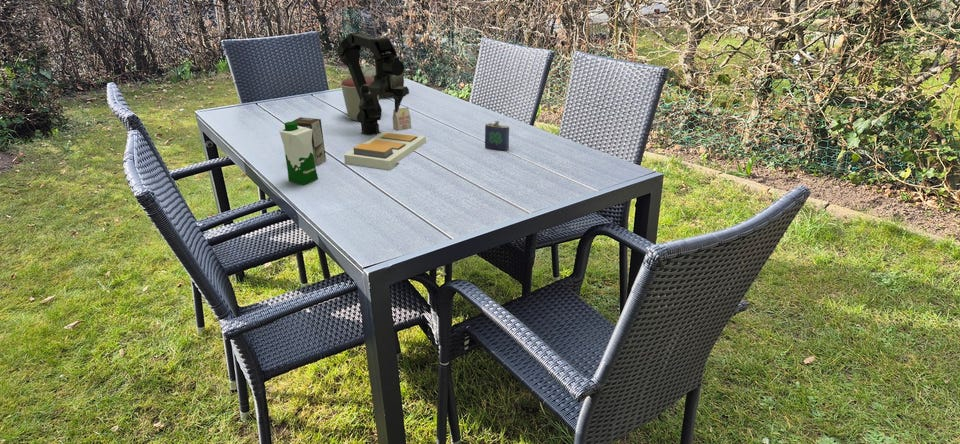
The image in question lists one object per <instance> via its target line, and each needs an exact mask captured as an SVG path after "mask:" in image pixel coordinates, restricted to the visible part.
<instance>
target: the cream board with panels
mask: <svg viewBox="0 0 960 444" xmlns="http://www.w3.org/2000/svg"><path fill="white" fill-rule="evenodd" d="M387 133H394V134H402V135H410V136H417V138H416V139H415V140H413V141H412V142H406V141H398V140H390V139H383V138H381V137H382V136H383V135H385V134H387ZM374 140H381V141H389V142H397V143H405V146H404V147H403V148H401V149H400V150H394V149H392V151H393V154H392V155H390V156H389V157H387V158H386V159H384V158H377V157H370V156H362V155H355V154H354V149H351V150H350V151H348V152H346V153H345V154H343V158H344V164H346V165H353V166H360V167H367V168H372V169H373V168H375V169H381V170H389V171H391V170H393V169H394V168H395V167H396V166H398V165H400V162H399V161H401V160H403V159H404V158H405V157H407V156H409V155H410V154H411V153H412V152H414V151H416V150H417V149H418V148H420V147H421V146H423V145H424V144H426V143H427V138H426V136H424V135H416V134H408V133H400V132H392V131H382V132H380V133H378V134H376V136H374V137H372V138H369V139H368V140H367V141H365V142H364V143H366V144H369V143H371V142H373V141H374Z"/></svg>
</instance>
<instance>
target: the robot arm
mask: <svg viewBox="0 0 960 444" xmlns="http://www.w3.org/2000/svg"><path fill="white" fill-rule="evenodd" d="M393 45H394V44H393V43H392V41H391V40H390V38H389V37H388V36H387V37H373V36H371V35H366V34H363V33H361V32H350V33H349V34H347V36H346V37H345V38H344V39H343V40H342V41H341V42H339V44H338V47H337V49H336V53H337V55H338V57H339V58H340V61H341V63H343V64H344V65H345V66H346V67H347V69H348V70H349V71H348V72H349V74H350V76H351V77H352V79H353V82H354V85H355V87H356V90H357V93H358V95H359V98H360V104H359V110H360V111H359V113H358V115H357V122H358V123H360V126H361V133H362V134H364V135H367V136H368V135H369V136H371V135H379V134H380V126H379V125H380V124H379V123H378V121H381V120H382V119H381V118H382V114H383V113H382V111H383V109H382V106H381V104H380V100H379V101H378V99H377V95H381V94H382V92H388V93H393V94H394V96H393V97H392V98H393V100H394V109H395V112H396V113H397V112H398V109H399V108H400V106H401V104H402V101H403V98H404V97H406V96H407V95H409V94H410V90H409V87H408V86H406V85H405V86H398V87H396V88H392V87H393V84H391V76H393V75H395V76H400V75H401V74H402V75H403V73H404V71H405V64H404V62H403V61H402V60H400V56H398V54H397V51H396V49H395V47H394V46H393ZM362 48H365V49H366V48H367V49H368V50H369V52H370V53H372V54H373V55H372V56H371V59H373V60H374V67H375V69H376V75H374V81H373V82H372V83H366V80H365V77H364V75H363V72H362V69H363V68H362V66H361V64H360V59H361V53H360V52H361V50H362ZM351 77H350V78H351Z"/></svg>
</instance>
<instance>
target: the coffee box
mask: <svg viewBox="0 0 960 444" xmlns="http://www.w3.org/2000/svg"><path fill="white" fill-rule="evenodd" d="M291 122H297V126H301V127H306V128H309V129H313V131H312V148H313V155H314V162H315V167H317V166H320V165H322V164H323V163H325V162H327V157H326V149H325V140H324V134H323V127H322V119H321V118H313V117H302V116H301V117H298V118H295V119H294V120H292V121H291Z"/></svg>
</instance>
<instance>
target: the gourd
mask: <svg viewBox="0 0 960 444" xmlns="http://www.w3.org/2000/svg"><path fill="white" fill-rule="evenodd" d="M361 69H362V72H363V75H364V76H367V77H373V78H374V75H376V69H375V66H373V67H363V68H361ZM404 79H405V78H404V75H403V73H402V74H401V75H400V76H395V75H393V76H391V84H393V87H392V88H396V87H398V86H404V85H405V80H404ZM393 95H394V94H393V93H388V92H382V94H381V95H379V98H380V97H381V98H386V97H391V96H393ZM394 96H395V95H394Z"/></svg>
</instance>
